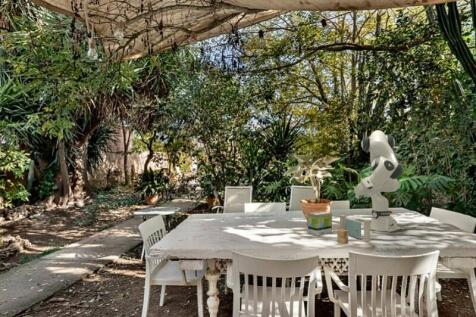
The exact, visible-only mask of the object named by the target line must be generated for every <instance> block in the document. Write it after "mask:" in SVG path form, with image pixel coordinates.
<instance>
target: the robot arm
mask: <svg viewBox="0 0 476 317" xmlns="http://www.w3.org/2000/svg"><path fill="white" fill-rule="evenodd" d="M395 143H396V141H395V138H394V136H393V135H391V134H387V135H386V134H385V133H384V131H382V130H379V129H378V130H377V129H376V130H375V131H372V133H371V134H370V136H365V137H363V138H362V140H361V142H360V144H361V145H360V146H361V148H362V151H364V152H369V153H370V154H369V155H370V159H369V160H370V168H371V170H372V174H371V175H370V176H367V177H364V178H362V179H361V180H360V182H359V183H358V184H357V185H356V186H355V188H354V190H353V192H354V194H355V199H360V196H365V195H366V198H371V205H372V207H371V208H372V210H371V220H370V221H371V222H370V230H372V231H377V232H390V233H391V232H394V231H398V230H401V227H400V226H398V222H397V220H396V219H395V218H393V217H392V216H391V215H392V214H393V210H389V200H388V199H387V197H386V196H384V195H382V193H381V192H385V193H391V192H392V193H393V192H396V191H397V190H398V189H399V187H400V182H399V180H398V179H399V178H401V176H402V175H403V172H404V168H403V165H402V164H401V163H400V161H399V160H398V157H397V154H396V153H395V151H394V150H393V149H394V147H395V145H396V144H395Z"/></svg>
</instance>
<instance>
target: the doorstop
mask: <svg viewBox="0 0 476 317" xmlns="http://www.w3.org/2000/svg"><path fill="white" fill-rule="evenodd" d="M336 231H337V232H336V234H337V235H336V237H337V241H336V243H337V244H341V245H347V244H349V236H348V230H343V229H341V230H340V229H338V230H336Z"/></svg>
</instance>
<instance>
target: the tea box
mask: <svg viewBox="0 0 476 317" xmlns="http://www.w3.org/2000/svg"><path fill="white" fill-rule="evenodd" d="M332 233H333V213H332V212H328V211H323V210H322V211H321V210H320V211H314V212H307V234H309V235H314V236H321V235H327V234H332Z"/></svg>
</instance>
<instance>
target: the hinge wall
mask: <svg viewBox="0 0 476 317" xmlns="http://www.w3.org/2000/svg"><path fill="white" fill-rule="evenodd" d="M345 218H347V215H344V214H339V230H341V229H343V230H345Z"/></svg>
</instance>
